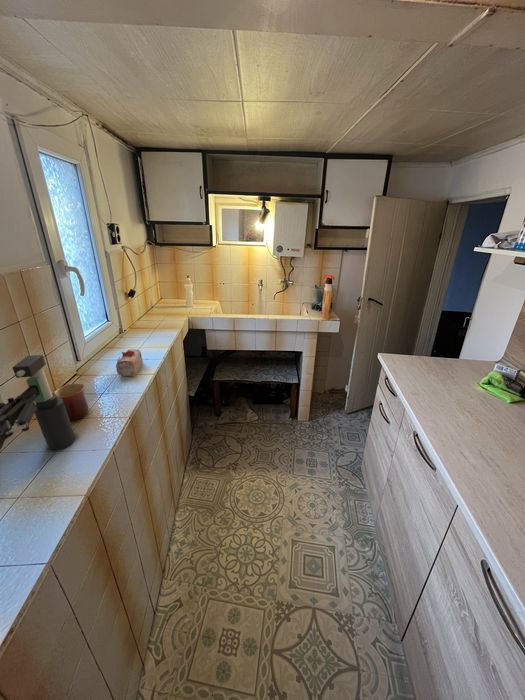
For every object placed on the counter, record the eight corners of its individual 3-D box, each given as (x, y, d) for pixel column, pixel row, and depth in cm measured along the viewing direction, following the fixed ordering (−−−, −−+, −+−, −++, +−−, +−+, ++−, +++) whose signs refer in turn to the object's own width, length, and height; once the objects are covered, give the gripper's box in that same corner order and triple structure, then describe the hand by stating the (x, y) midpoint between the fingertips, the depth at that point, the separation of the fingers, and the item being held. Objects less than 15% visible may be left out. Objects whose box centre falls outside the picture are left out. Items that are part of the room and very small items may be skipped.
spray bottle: (66, 455, 81) (33, 367, 70) (38, 458, 80) (1, 370, 68) (79, 433, 90) (52, 351, 78) (54, 435, 89) (23, 354, 77)
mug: (94, 415, 98) (87, 390, 94) (65, 426, 93) (55, 400, 89) (86, 401, 106) (79, 377, 102) (59, 410, 101) (50, 385, 97)
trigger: (45, 401, 77) (37, 379, 74) (34, 402, 77) (26, 380, 74) (47, 399, 78) (39, 377, 75) (37, 400, 78) (28, 378, 75)
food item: (136, 378, 122) (132, 357, 118) (117, 379, 121) (112, 358, 117) (144, 364, 135) (141, 345, 131) (127, 364, 134) (123, 345, 130)
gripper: (-64, 473, 54) (12, 404, 75) (13, 463, 56) (65, 399, 78) (-83, 442, 51) (2, 380, 72) (-1, 433, 53) (58, 375, 75)
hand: (35, 390), depth 75 cm, fingers closed
